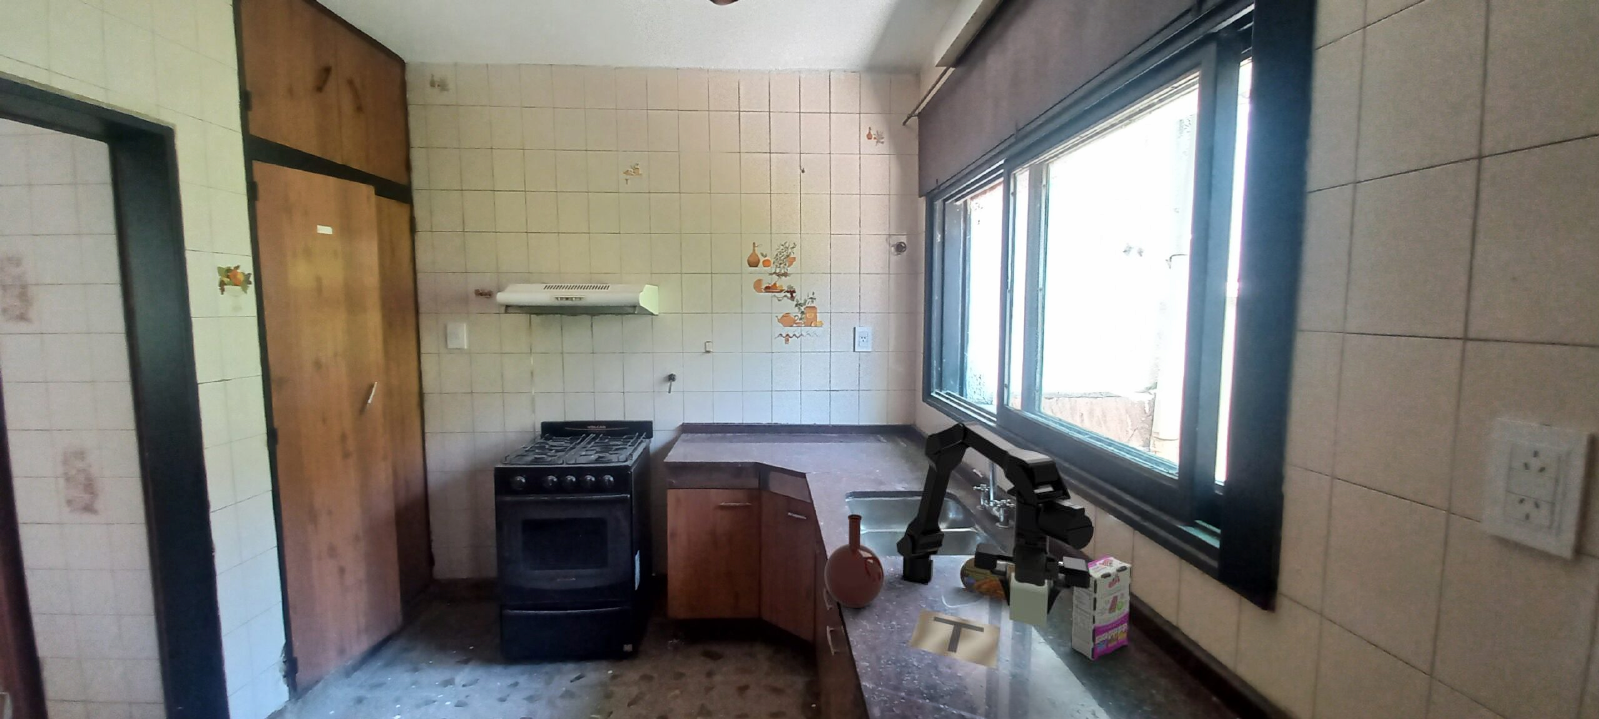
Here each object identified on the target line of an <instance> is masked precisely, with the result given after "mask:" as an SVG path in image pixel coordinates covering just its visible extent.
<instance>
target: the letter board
mask: <svg viewBox="0 0 1599 719" xmlns="http://www.w3.org/2000/svg"><path fill="white" fill-rule="evenodd" d="M1000 631H1001V626H997V625H993V624H988V623H983V622H979V621H975V620H970V619H965V618H962V617H957V616H954V615H948V614H944V613H940V612H936V611H932V610H931V611H930V610H926V609H923V608H922V609H921V611H920V614H919V616H918V619H917V621H916V623H915V627H914V630H913V632H912V635H911V638H910V640H909V643H908V647H910V648H914V649H918V650H922V651H925V652H930V653H933V654H937V655H940V656H945V657H949V658H953V659H956V660H960V661H964V662H968V663H972V664H975V665H980V666H984V667H987V668H991V669H997V661H998V650H999V641H1000V640H999V639H1000Z"/></svg>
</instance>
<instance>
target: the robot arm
mask: <svg viewBox="0 0 1599 719" xmlns="http://www.w3.org/2000/svg"><path fill="white" fill-rule="evenodd" d="M970 448H971V449H973V450H975V452H976V453H977V452H978V453H979V454H980V455H982V456H984V457H985V458H986V459H988V460H989V461H991V462H992V463H993V464H996V466H998V467H999V468H1000V469H1001V470H1002V471H1003V474H1004V478H1005V479H1007V481H1009V482H1010V483H1011V484H1012V485H1013V486H1012V487H1011V488H1009V489H1007V490H1006V494H1007V495H1009V496H1011V497H1013V498H1015V502H1014V503H1015V505H1014V527H1013V530H1014V531H1013V547H1012V553H1006V552H1005V553H1004V552H1000V545H998V544H993V543H987V542H981V541H980V542H979V543H977V545H976V547H975V550H974V566H975V567H976V568H979V569H984V570H989V571H990V574H992V575H995V576H996V577H997V578H998V579H999V581H1000V583H1001V586H1002V588H1003V592H1004V595H1005V598H1006V600H1005V601H1006V603H1007V604H1006V605H1007V606H1008V607H1010V578H1009V565H1011V566H1015V575H1014V578H1015V580H1016V581H1017V582H1019V583H1028V584H1034V585H1036V586H1040V587H1041V586H1044V585H1045V580H1047V581H1049V584H1048V588H1047V589H1048V601H1047V615H1049V614H1050V612H1051V611H1052V608H1053V606H1054V604H1055V602H1056V600H1057V598H1058V596H1059V595H1060V594H1061V592H1062V591H1064V590H1070V589H1072V587H1073V586H1074V587H1079V588H1085V589H1088V588H1090V572H1089V567H1088V564H1087V563H1088V562H1087V561H1086V560H1085V559H1082V558H1081V559H1080V558H1075V557H1069V556H1063V557H1062V561H1060V559H1059V557H1055V556H1051V555H1049V554H1050V553H1049V543H1050V542H1049V541H1050V540H1049V538H1051V539H1053V540H1055V541H1057V542H1059V543H1061V544H1063V545H1065V546H1067V547H1070V548H1072V549H1073V550H1076V551H1079V550H1082V549H1085V548H1086V547H1087V546H1088V545H1089V544H1090V542H1091V541H1092V538H1093V536H1094V533H1095V527H1094V525H1093V522H1092V520H1091V518H1090V517H1089V516H1088V515H1086V508H1085V507H1084V506H1082V505H1078V504H1073V503H1071V502H1068V501H1069V500H1071V499H1072V497H1071V495H1070V492H1069V490H1068V486H1066V484H1065V482H1064V480H1063V477H1062V476H1061V475H1062V474H1061V473H1060V471H1059V469H1058V468H1057V463H1056V461H1055V460H1054V459H1052V457H1050V456H1048V455H1046V454H1043V453H1039V452H1037V451H1033V450H1027V449H1024V448H1023V449H1022V448H1019V447H1016V445H1013V444H1012V443H1010V442H1009V441H1007V440H1005V439H1004V438H1002V437H1000V436H999V435H997V434H996V433H994V432H992V431H991V430H989V429H987V428H985V427H984V426H982V424H981V423H980V422H977V421H975V420H971V421H970V420H969V421H960V422H957V423H955V424H954V425H952V426H951V427H948V428H946V429H943V430H941V431H938V432H934V433H933V432H932V433H931V434H928V436H927V437H926V442H925V449H924V450H925V451H924V456H925V458H926V461H927V463H928V470H927V473H926V478H925V481H924V484H923V485H924V486H923V489H922V494H921V498H920V502H919V507H918V511H917V515H916V516H915V517H914V518H913V519H912V520H910V522H909V523H908V524H907V526H906V529H905V532H904V534H903V537H902V538H900V539H899V540H898V541H897V542H896V550H897V553H898V555H900V556H902V574H901V576H900V580H901V581H906V582H910V583H915V584H919V585H924V586H928V585H929V582H930V581H931V580H932V579H933V576H934V560H933V559H932V556H936V555H938V553H939V550H940V548H942V547H943V541H944V538H945V533H944V532H943V531H942V529H941V527H940V524H939V519H940V518H941V513H942V509H943V505H944V501H945V498H946V494H947V490H948V486H949V482H950V479H951V474H952V472H953V471H954V470H955V468H957V467H958V466H959V465H960V464H961V463H962V460H963V458H964V456H965V454H966V452H967V450H969V449H970ZM1050 488H1051V489H1052V490H1046V489H1050ZM1039 490H1045V491H1039ZM1038 491H1039V492H1038Z"/></svg>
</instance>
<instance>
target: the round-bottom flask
mask: <svg viewBox="0 0 1599 719" xmlns="http://www.w3.org/2000/svg"><path fill="white" fill-rule="evenodd" d="M862 518H863V516H862V515H860V514H854V513H853V514H848V516H847V520H848V543H847V544H844V545H841V546H839V547H838V548H836V549H835V550H833V551H832V553H831V554H830V556H828V558H827V561H826V564H825V567H824V582H825V585H826V588H827V590H828V593H829V594H830V596H831V597H832V598H833V600H835V601H836V602H837V603H839V604H841V605H843V606H845V607H848V608H852V609H856V608H857V609H858V608H863V607H867V606H868V605H870V604H871V603H873V602H874V601H875V600H876V599H877V598H878V596H879V595H880V593H881V591H882V589H883V586H884V581H885V573H884V567H883V564H882V563H881V560H880V559H879V557H878V555H877V554H876V553H875V552H874V551H873V550H871V549H870V548H869V547H867V546H865V545H862V544H861V530H862V529H861V526H862V525H861V521H862Z"/></svg>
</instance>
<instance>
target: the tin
mask: <svg viewBox="0 0 1599 719" xmlns="http://www.w3.org/2000/svg"><path fill="white" fill-rule="evenodd" d="M959 572H960V573H959V578H960V581H961V584H962V585H963V587H964V588H965V590H967V592H969V593H974V594H975V593H976V594H979V595H983V596H988V597H992V598H996V599H1000V600H1004V601H1006V598H1005V595H1004V592H1003V588H1002V586H1001V583H1000V581H999V579H998V578H997V577H996V576H995V575H992V574H990V571H989V570H984V569H979V568H976V567H975V566H974V557H971V558H969V559H967V560H966V561H965V563H964V564H963V565H962V566H961V568H960V570H959ZM1012 573H1015V566H1011V565H1009V578H1010V589H1011V577H1012Z"/></svg>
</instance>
